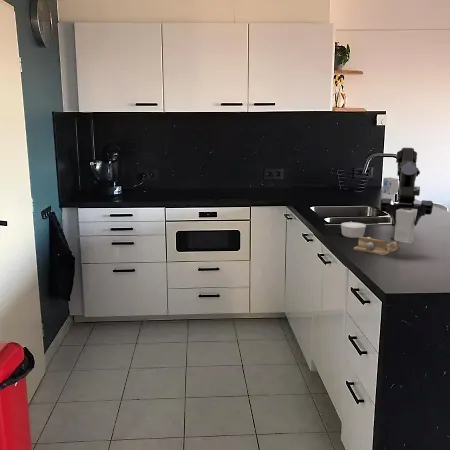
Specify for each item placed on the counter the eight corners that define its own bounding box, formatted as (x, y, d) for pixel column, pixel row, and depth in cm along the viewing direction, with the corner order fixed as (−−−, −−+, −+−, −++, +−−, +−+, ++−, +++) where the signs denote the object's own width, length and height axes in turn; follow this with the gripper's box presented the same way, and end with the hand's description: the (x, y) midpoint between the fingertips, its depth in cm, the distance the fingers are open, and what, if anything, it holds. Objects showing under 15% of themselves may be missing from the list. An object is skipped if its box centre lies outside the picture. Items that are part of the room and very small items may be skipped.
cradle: (369, 243, 215) (370, 232, 214) (398, 248, 207) (399, 237, 206) (353, 249, 205) (354, 237, 204) (383, 255, 197) (384, 243, 196)
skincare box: (413, 241, 191) (417, 210, 188) (408, 243, 188) (412, 212, 185) (398, 238, 195) (401, 208, 192) (392, 240, 192) (396, 209, 189)
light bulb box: (382, 192, 369) (383, 177, 366) (389, 191, 371) (391, 177, 368) (390, 194, 359) (392, 179, 356) (399, 194, 361) (400, 178, 358)
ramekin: (347, 239, 223) (348, 227, 222) (335, 233, 234) (336, 222, 233) (370, 237, 226) (371, 226, 225) (357, 232, 237) (358, 221, 235)
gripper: (382, 177, 193) (379, 211, 185) (434, 179, 187) (434, 214, 179) (381, 194, 202) (378, 227, 194) (431, 197, 196) (430, 231, 188)
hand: (405, 224), depth 189 cm, fingers closed on skincare box, 7 cm apart
